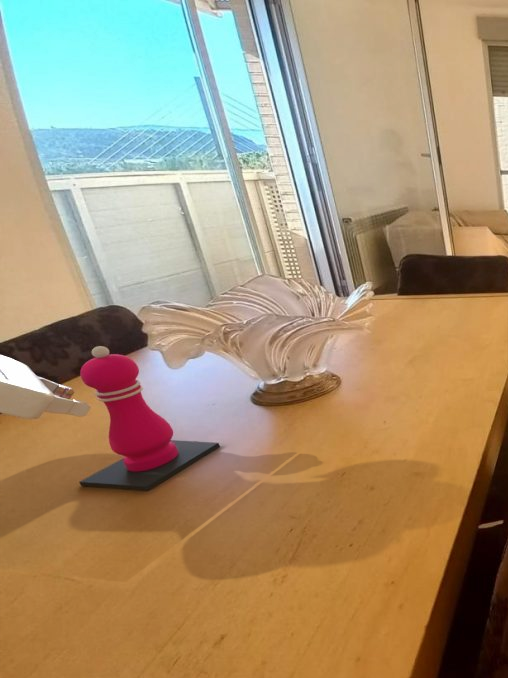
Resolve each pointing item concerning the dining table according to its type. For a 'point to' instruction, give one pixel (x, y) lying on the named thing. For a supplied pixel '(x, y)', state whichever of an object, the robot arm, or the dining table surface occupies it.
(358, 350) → the dining table surface
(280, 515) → the dining table surface
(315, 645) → the dining table surface
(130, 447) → the pepper mill
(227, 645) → the dining table surface
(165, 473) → the slate mat
